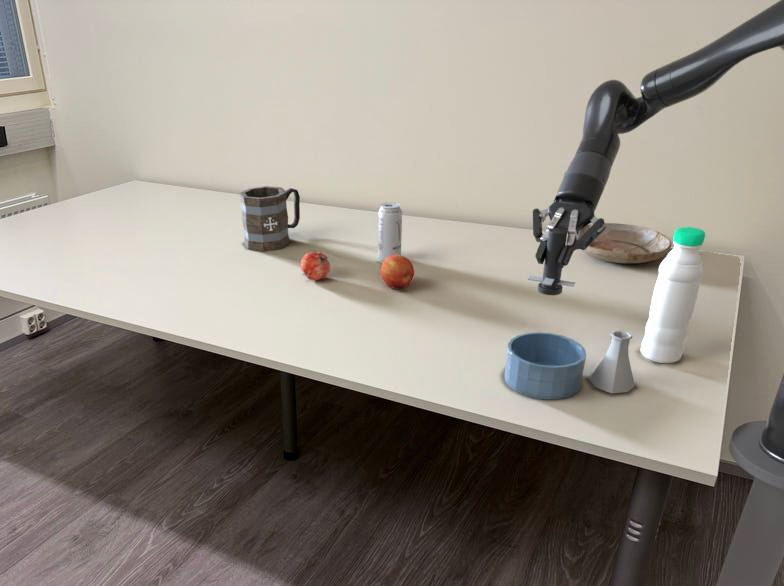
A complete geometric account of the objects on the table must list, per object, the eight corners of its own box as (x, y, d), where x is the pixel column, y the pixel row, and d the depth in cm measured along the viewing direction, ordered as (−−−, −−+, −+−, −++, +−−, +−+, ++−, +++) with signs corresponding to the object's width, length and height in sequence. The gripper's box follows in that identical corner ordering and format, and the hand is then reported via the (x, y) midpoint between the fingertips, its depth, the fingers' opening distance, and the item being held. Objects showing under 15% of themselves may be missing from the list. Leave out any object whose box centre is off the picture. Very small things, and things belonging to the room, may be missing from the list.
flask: (580, 379, 122) (589, 330, 117) (611, 370, 124) (621, 321, 119) (611, 398, 116) (622, 347, 111) (642, 388, 118) (654, 338, 113)
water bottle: (670, 368, 123) (703, 239, 111) (633, 356, 128) (660, 230, 116) (687, 355, 127) (720, 229, 115) (649, 343, 132) (678, 220, 120)
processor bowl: (594, 380, 121) (600, 348, 118) (553, 408, 114) (559, 375, 111) (531, 355, 130) (535, 325, 127) (489, 379, 123) (492, 349, 120)
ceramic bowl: (582, 272, 165) (586, 253, 163) (562, 240, 186) (564, 223, 183) (682, 271, 162) (686, 252, 160) (649, 239, 183) (653, 222, 180)
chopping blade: (581, 290, 127) (592, 229, 121) (557, 303, 122) (566, 241, 116) (542, 278, 132) (550, 220, 126) (517, 291, 128) (524, 230, 122)
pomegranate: (297, 288, 171) (314, 274, 162) (290, 261, 172) (306, 246, 163) (322, 284, 174) (340, 271, 165) (315, 258, 175) (332, 243, 166)
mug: (262, 254, 187) (258, 201, 180) (234, 243, 196) (229, 193, 189) (315, 237, 198) (312, 187, 191) (286, 227, 207) (283, 179, 200)
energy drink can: (398, 265, 175) (399, 209, 168) (376, 263, 177) (376, 208, 170) (402, 257, 180) (404, 202, 173) (380, 255, 182) (381, 201, 175)
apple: (406, 278, 167) (407, 248, 163) (419, 291, 160) (420, 260, 156) (376, 283, 165) (376, 252, 161) (387, 296, 158) (388, 264, 154)
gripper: (625, 198, 124) (590, 280, 122) (550, 188, 132) (517, 265, 130) (620, 176, 118) (584, 262, 116) (543, 167, 126) (508, 247, 124)
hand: (549, 263), depth 123 cm, fingers closed on chopping blade, 3 cm apart
